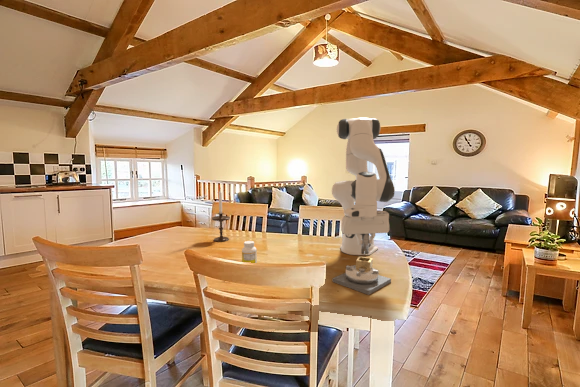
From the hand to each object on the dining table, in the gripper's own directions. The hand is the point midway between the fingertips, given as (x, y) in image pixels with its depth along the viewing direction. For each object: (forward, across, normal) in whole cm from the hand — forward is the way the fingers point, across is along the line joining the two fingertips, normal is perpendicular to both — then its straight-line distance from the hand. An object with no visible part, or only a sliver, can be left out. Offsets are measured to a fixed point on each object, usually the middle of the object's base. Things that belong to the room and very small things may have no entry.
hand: (365, 243), depth 126 cm
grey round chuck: (+13, +2, +3) cm, 14 cm away
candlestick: (+15, +63, -74) cm, 98 cm away
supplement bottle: (+15, +48, -19) cm, 54 cm away
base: (+15, +3, +3) cm, 16 cm away
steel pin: (+4, 0, 0) cm, 4 cm away
